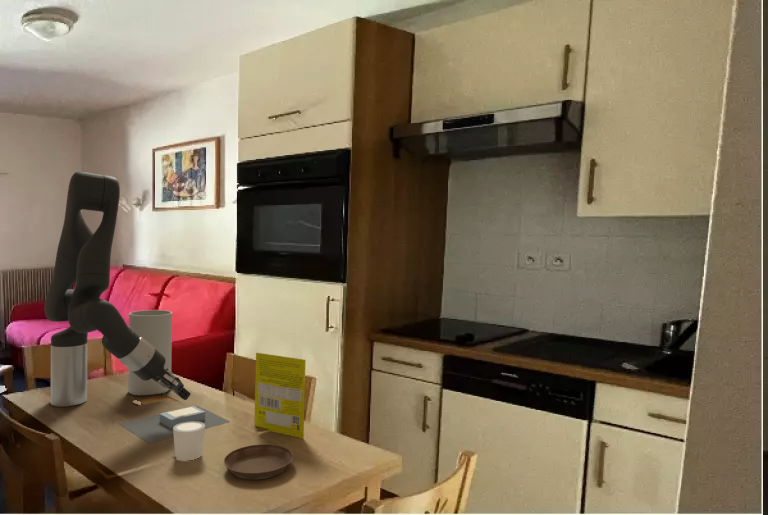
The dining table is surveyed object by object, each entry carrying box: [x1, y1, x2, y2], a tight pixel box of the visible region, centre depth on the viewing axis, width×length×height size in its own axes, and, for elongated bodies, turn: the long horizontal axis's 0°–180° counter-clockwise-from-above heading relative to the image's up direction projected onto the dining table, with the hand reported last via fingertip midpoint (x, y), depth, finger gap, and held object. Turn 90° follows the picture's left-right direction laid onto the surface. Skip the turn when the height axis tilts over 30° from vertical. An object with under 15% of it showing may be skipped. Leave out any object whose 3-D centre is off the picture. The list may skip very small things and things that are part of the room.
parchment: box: [134, 394, 181, 406], centre depth 156 cm, size 25×10×1 cm, turn 47°
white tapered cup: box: [173, 421, 206, 461], centre depth 122 cm, size 7×7×7 cm
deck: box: [159, 405, 205, 428], centre depth 143 cm, size 6×2×10 cm
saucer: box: [223, 443, 294, 481], centre depth 117 cm, size 15×15×3 cm
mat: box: [118, 405, 231, 444], centre depth 141 cm, size 18×22×1 cm
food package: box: [253, 352, 307, 439], centre depth 137 cm, size 15×1×20 cm, turn 65°
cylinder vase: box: [127, 309, 173, 397], centre depth 170 cm, size 12×12×25 cm
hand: (187, 396), depth 143 cm, fingers closed
